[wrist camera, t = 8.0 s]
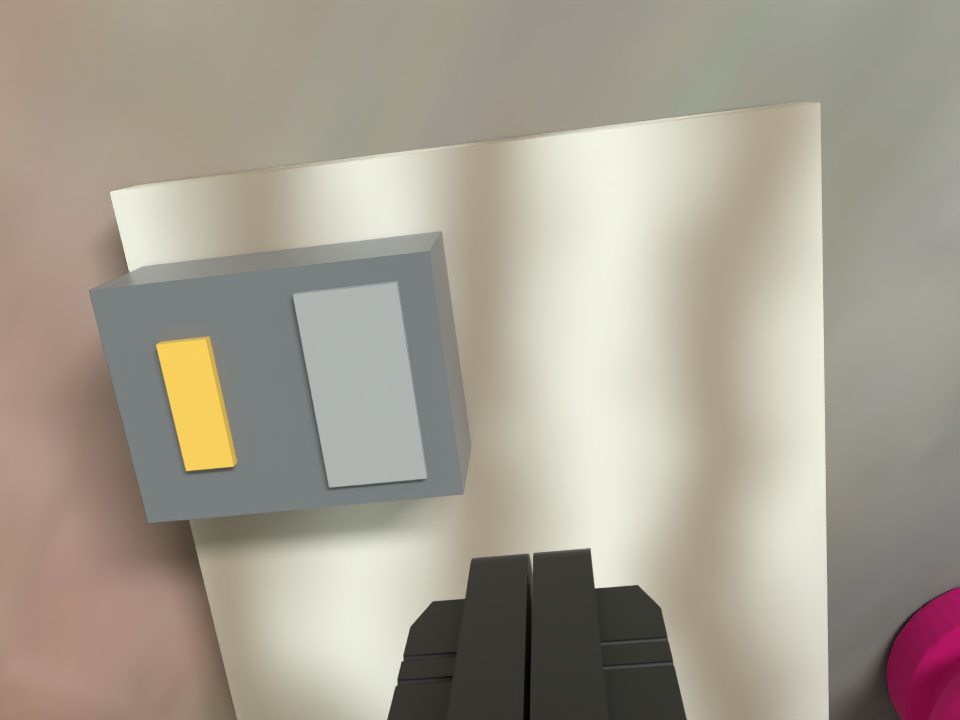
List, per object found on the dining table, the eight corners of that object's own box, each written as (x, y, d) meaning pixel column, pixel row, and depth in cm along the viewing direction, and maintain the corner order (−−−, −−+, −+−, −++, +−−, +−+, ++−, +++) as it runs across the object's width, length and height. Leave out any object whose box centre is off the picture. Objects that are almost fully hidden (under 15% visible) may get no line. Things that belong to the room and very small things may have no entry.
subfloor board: (796, 102, 23) (821, 102, 21) (811, 806, 30) (831, 858, 28) (142, 184, 25) (108, 192, 23) (292, 837, 31) (276, 887, 29)
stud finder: (441, 231, 22) (427, 253, 19) (471, 447, 24) (462, 498, 21) (143, 266, 23) (83, 292, 20) (192, 473, 25) (143, 528, 22)
